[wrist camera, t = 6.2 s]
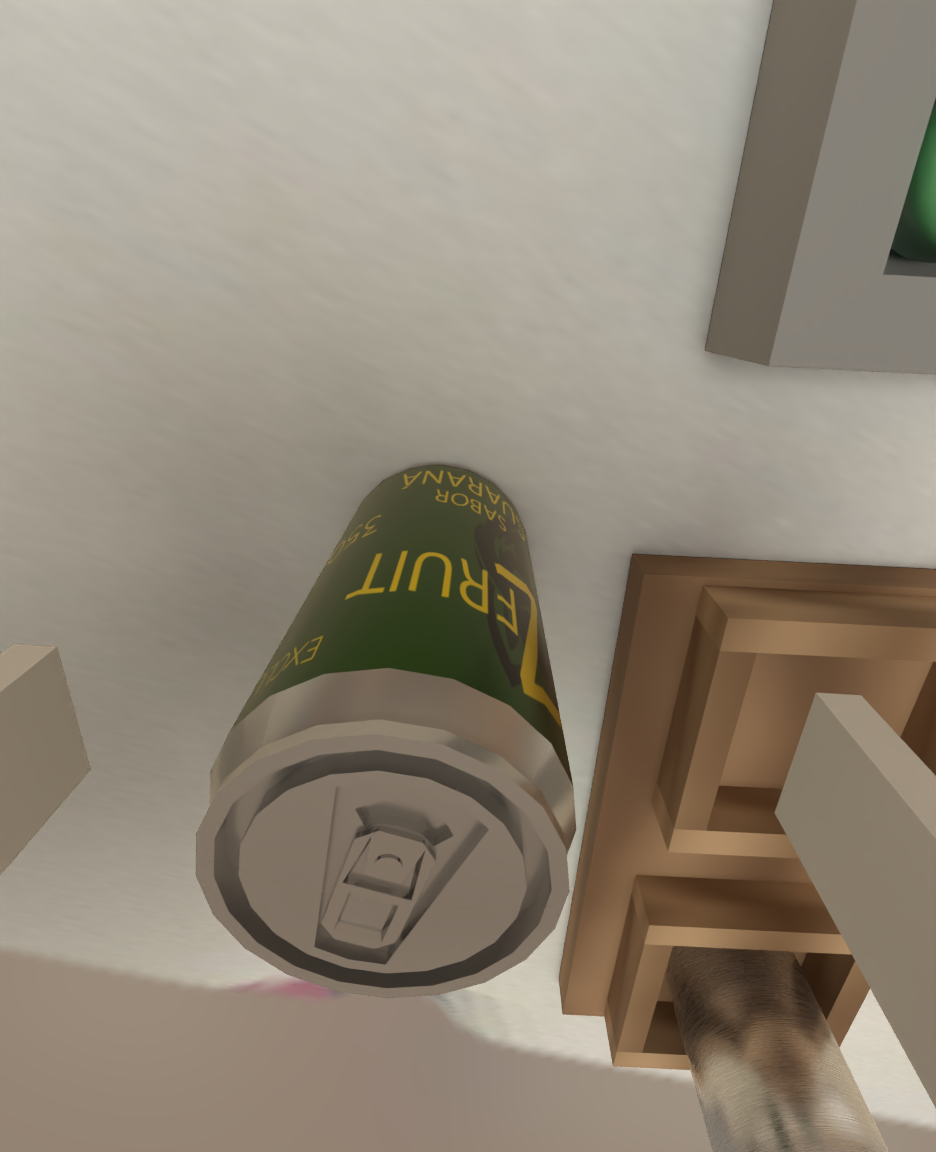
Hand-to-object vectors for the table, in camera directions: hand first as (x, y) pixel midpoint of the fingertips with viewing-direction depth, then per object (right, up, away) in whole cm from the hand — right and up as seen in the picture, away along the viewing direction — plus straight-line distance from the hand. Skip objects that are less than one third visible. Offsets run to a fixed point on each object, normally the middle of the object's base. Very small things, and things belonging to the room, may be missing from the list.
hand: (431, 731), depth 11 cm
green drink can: (0, +4, +8) cm, 9 cm away
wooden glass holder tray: (+11, -6, +12) cm, 18 cm away
